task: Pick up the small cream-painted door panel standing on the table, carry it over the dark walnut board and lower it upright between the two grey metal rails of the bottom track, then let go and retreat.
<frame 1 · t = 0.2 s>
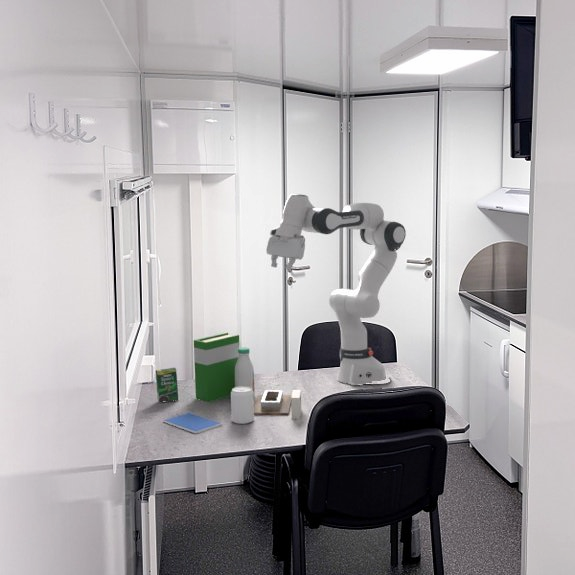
hand: (280, 268, 291), 52 cm above the table, tool tilted 20°, fingers open, 8 cm apart
door panel: (296, 414, 277), on the table
bottom track: (272, 399, 288), on the track board, point 2 cm above the table
track board: (272, 405, 288), on the table
tablet computer: (192, 425, 269), on the table
coffee box: (167, 401, 296), on the table
hardback book: (218, 395, 303), on the table
milk bottle: (245, 397, 300), on the table
beverage can: (242, 421, 271), on the table
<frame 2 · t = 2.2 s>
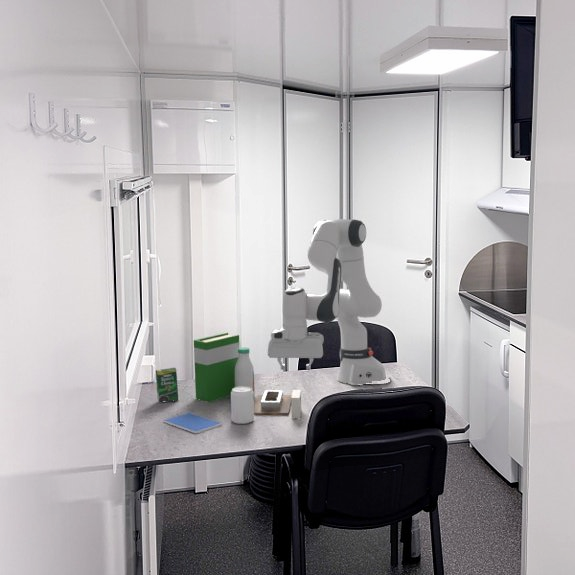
hand: (295, 369, 275), 17 cm above the table, tool pointing down, fingers open, 8 cm apart
nothing on the table moved.
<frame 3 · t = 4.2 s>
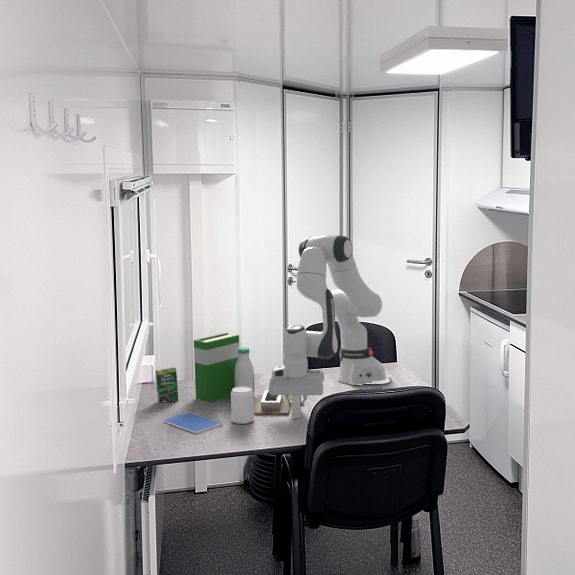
hand: (296, 406, 277), 3 cm above the table, tool pointing down, fingers closed on door panel, 3 cm apart
door panel: (296, 414, 277), on the table, touching gripper
everything else where it was.
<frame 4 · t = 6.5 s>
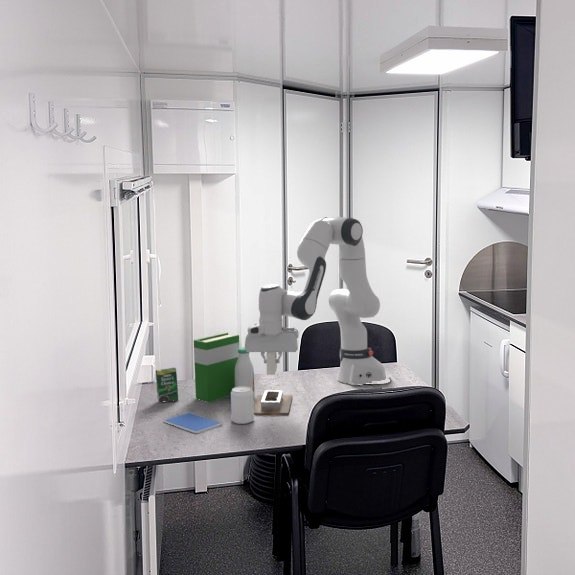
hand: (271, 363, 285), 17 cm above the table, tool pointing down, fingers closed on door panel, 3 cm apart
door panel: (272, 371, 286), point 14 cm above the table, touching gripper
everything else where it was.
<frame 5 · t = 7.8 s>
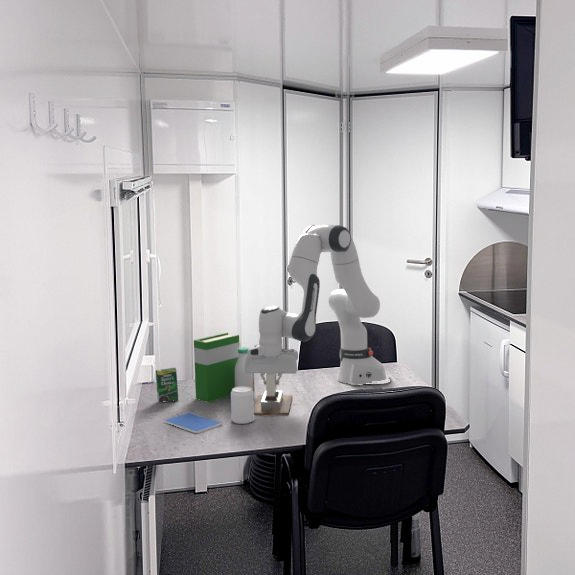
hand: (271, 384, 287), 9 cm above the table, tool pointing down, fingers closed on door panel, 3 cm apart
door panel: (271, 392, 287), point 5 cm above the table, touching gripper
everything else where it was.
when the fingers open (5 cm above the table, at t = 8.8 s): door panel stays where it is, resting on track board.
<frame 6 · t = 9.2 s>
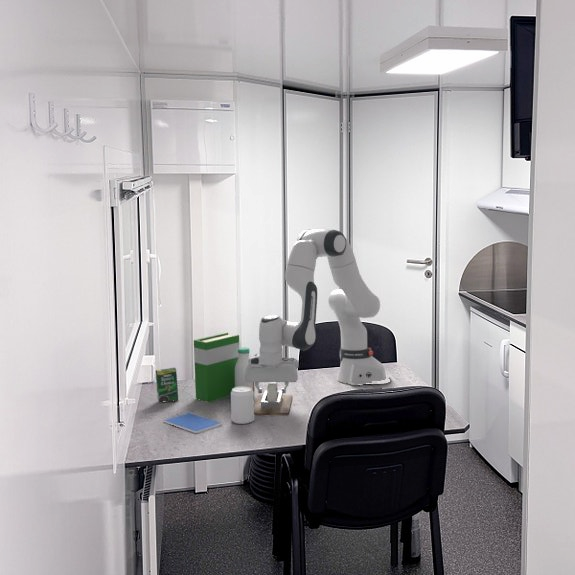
hand: (272, 392, 287), 5 cm above the table, tool pointing down, fingers open, 8 cm apart
door panel: (272, 403, 288), point 1 cm above the table, touching track board
everything else where it was.
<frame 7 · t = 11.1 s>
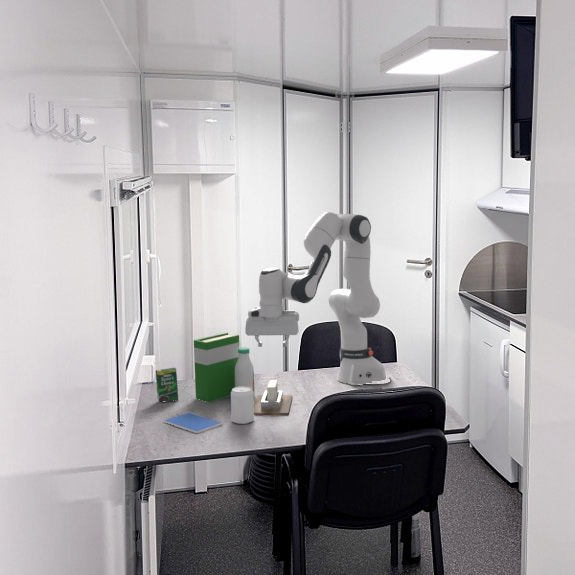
hand: (272, 346, 285), 23 cm above the table, tool pointing down, fingers open, 8 cm apart
nothing on the table moved.
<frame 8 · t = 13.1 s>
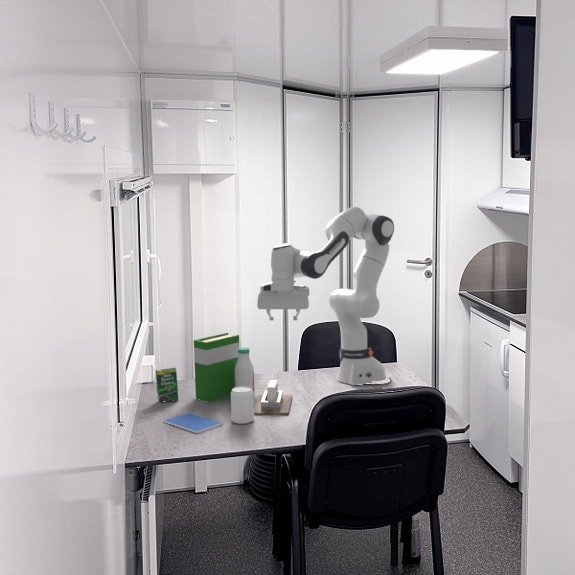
hand: (283, 320, 295), 31 cm above the table, tool pointing down, fingers open, 8 cm apart
nothing on the table moved.
at the end: door panel inside the target area on the track board (0.2 cm from its centre), point 0.8 cm above the track board's base; door panel tilted 0°; the gripper is holding nothing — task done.
